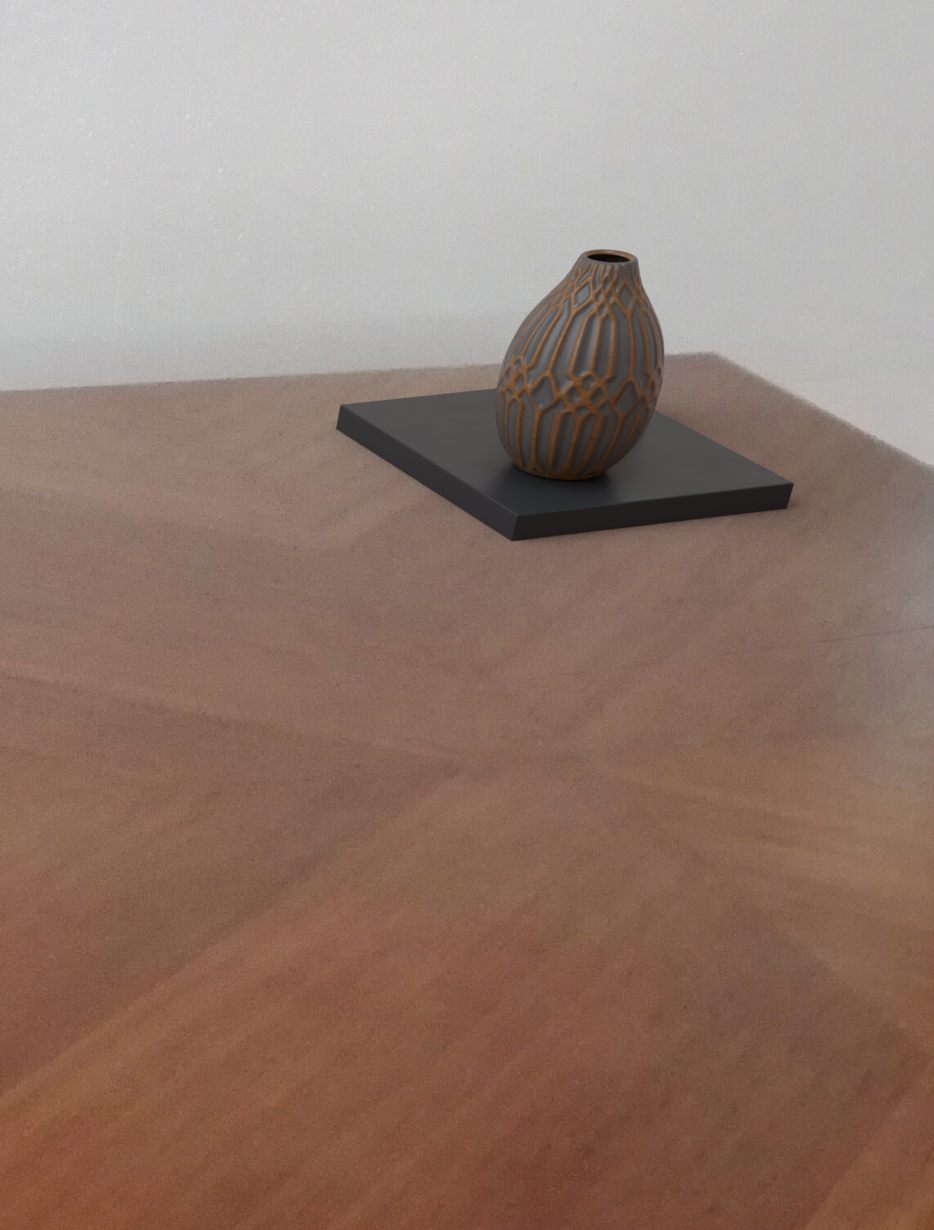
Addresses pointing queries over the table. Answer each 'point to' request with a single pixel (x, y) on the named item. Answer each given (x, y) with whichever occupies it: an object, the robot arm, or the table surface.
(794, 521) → the table surface
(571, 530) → the scale
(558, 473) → the vase
